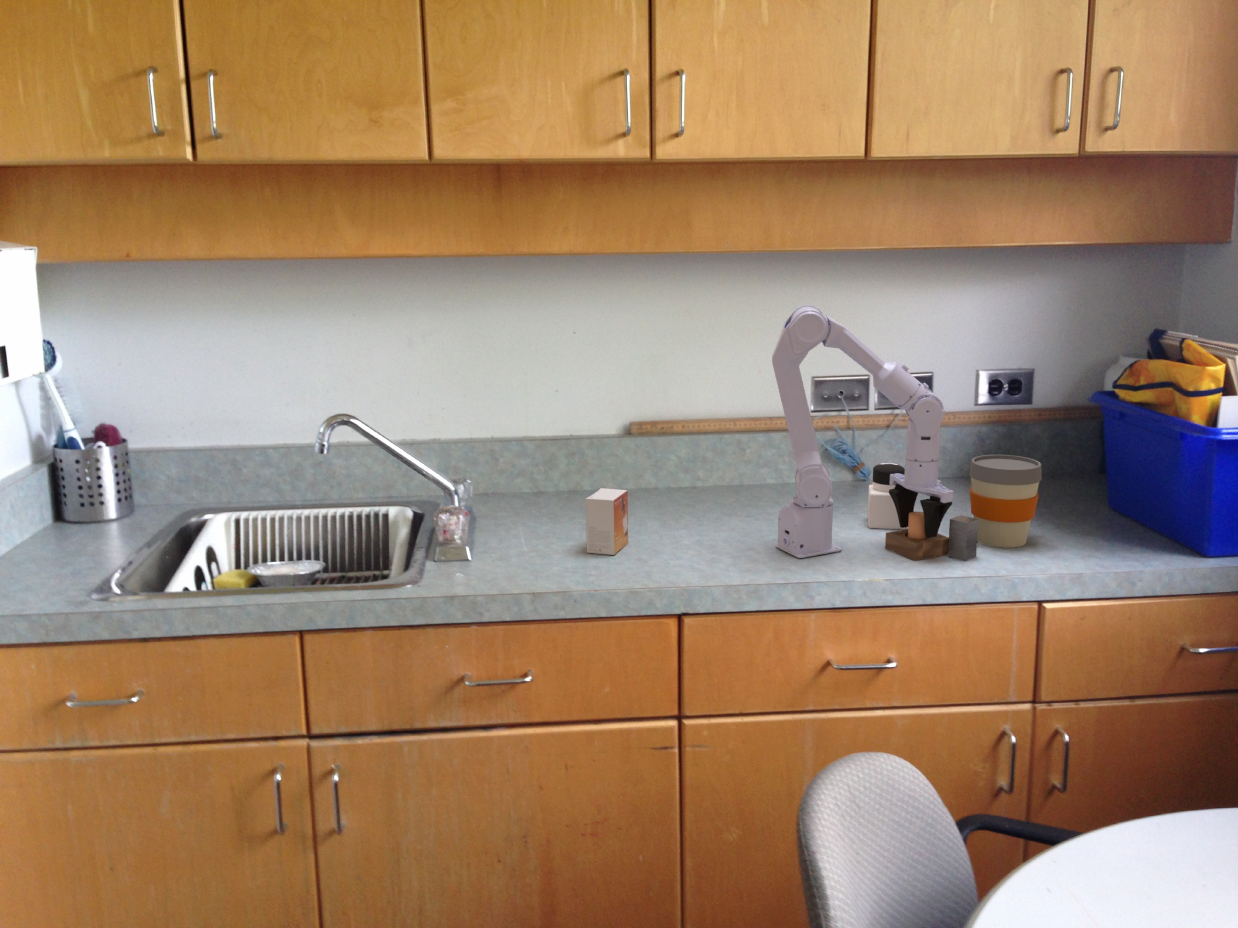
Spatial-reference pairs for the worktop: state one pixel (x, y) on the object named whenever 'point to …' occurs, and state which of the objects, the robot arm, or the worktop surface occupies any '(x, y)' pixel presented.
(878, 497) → the medicine bottle
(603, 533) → the small box
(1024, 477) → the reusable coffee cup
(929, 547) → the bore block
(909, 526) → the round bit
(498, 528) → the worktop surface
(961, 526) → the square bit
